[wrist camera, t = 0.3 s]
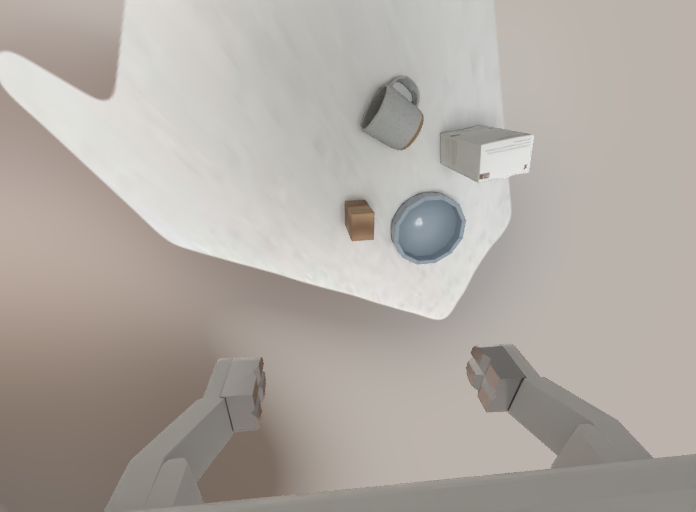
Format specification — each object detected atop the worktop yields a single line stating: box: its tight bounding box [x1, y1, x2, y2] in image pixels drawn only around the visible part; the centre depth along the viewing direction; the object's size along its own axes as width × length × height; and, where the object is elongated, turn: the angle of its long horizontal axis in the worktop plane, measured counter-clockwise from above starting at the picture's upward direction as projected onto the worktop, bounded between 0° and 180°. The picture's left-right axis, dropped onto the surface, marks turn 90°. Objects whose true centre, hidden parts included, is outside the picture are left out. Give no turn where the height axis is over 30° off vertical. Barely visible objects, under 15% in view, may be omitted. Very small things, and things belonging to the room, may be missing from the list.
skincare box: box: [440, 125, 534, 183], centre depth 49 cm, size 8×6×15 cm
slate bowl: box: [391, 192, 466, 264], centre depth 61 cm, size 15×15×3 cm
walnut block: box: [345, 200, 374, 241], centre depth 55 cm, size 5×4×8 cm
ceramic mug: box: [361, 76, 423, 150], centre depth 47 cm, size 11×8×8 cm
